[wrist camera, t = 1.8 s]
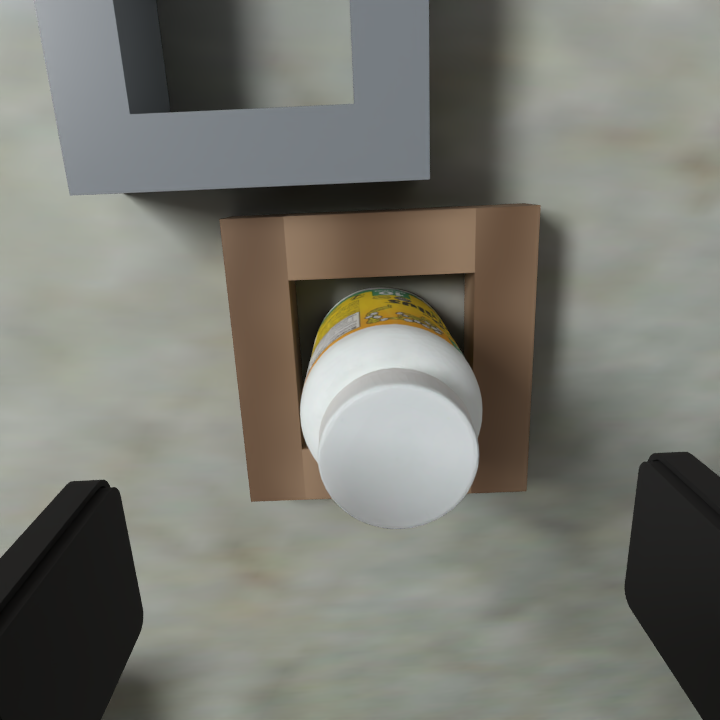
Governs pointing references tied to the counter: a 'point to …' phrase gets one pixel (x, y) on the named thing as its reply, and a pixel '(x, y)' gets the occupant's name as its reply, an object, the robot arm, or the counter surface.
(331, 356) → the supplement bottle
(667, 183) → the counter surface
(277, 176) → the socket block
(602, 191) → the counter surface
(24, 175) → the counter surface
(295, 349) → the shallow holder
